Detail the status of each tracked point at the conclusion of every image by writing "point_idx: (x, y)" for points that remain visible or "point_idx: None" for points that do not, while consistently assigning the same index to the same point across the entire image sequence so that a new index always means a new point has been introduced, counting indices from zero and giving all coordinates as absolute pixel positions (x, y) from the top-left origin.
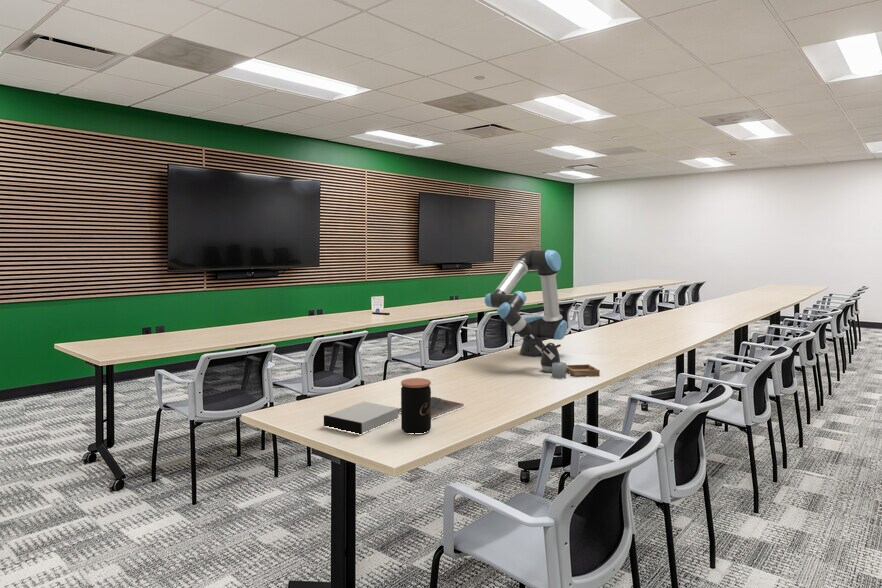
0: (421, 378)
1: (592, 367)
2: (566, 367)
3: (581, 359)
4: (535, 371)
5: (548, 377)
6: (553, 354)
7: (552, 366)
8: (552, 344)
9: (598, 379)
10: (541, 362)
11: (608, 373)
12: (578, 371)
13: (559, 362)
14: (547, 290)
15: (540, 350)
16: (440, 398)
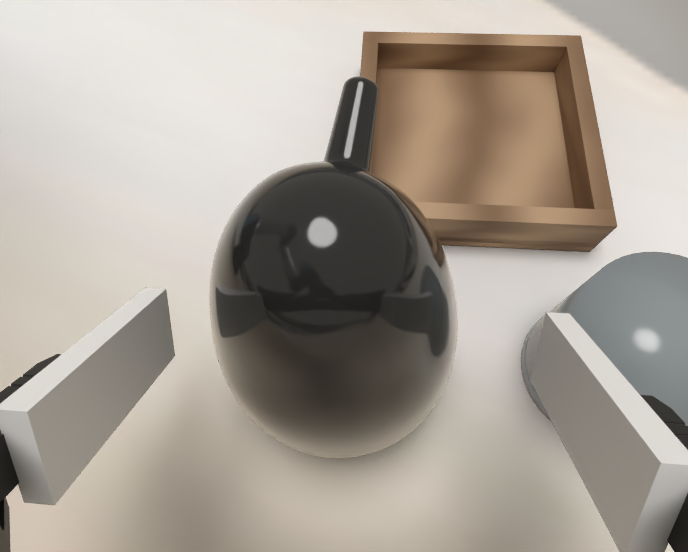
0: None
1: (475, 44)
2: (433, 220)
3: (40, 2)
4: (314, 519)
5: None
6: (585, 333)
7: None
8: (391, 213)
9: (665, 112)
10: (340, 456)
11: (482, 4)
12: (606, 183)
13: (611, 307)
14: None
15: (133, 392)
16: None
